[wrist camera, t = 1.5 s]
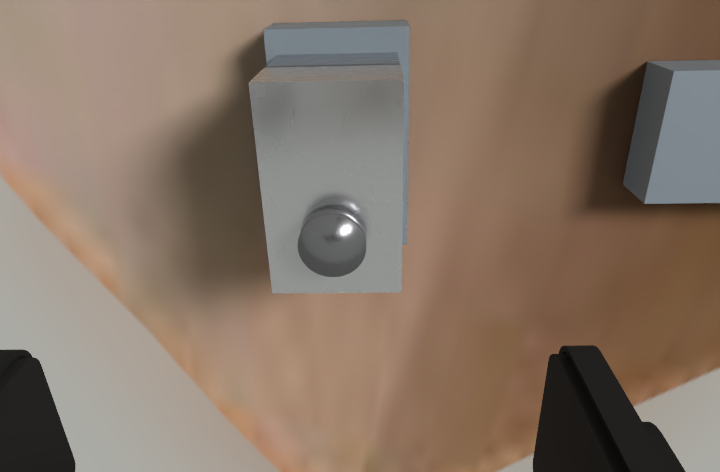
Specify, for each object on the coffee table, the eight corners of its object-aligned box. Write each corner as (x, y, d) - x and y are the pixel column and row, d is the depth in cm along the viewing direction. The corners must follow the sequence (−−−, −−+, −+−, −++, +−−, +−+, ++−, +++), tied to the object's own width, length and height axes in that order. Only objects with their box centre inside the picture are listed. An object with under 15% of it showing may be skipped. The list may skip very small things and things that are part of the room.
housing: (277, 54, 23) (241, 89, 17) (397, 52, 23) (405, 85, 17) (292, 227, 27) (267, 308, 20) (396, 225, 26) (402, 307, 20)
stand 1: (273, 23, 25) (263, 29, 23) (406, 20, 25) (409, 26, 22) (291, 223, 29) (284, 245, 27) (404, 222, 29) (406, 244, 27)
